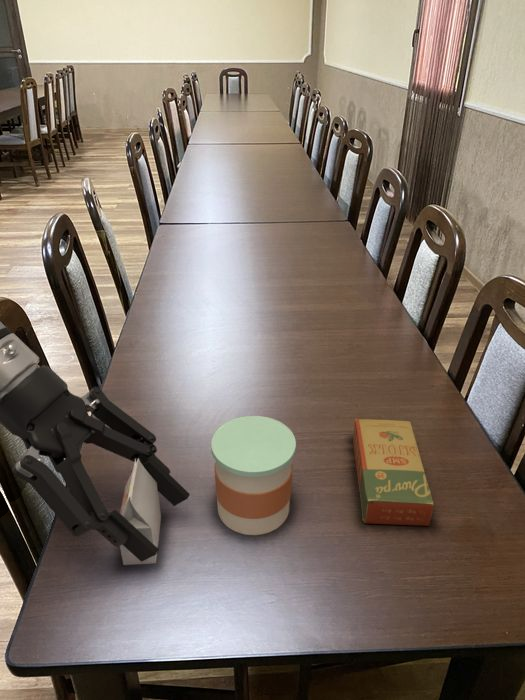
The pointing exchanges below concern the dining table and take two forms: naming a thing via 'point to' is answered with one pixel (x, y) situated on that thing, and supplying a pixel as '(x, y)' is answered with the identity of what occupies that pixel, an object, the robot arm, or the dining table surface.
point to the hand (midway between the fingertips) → (166, 526)
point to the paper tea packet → (141, 510)
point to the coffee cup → (253, 473)
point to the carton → (391, 474)
